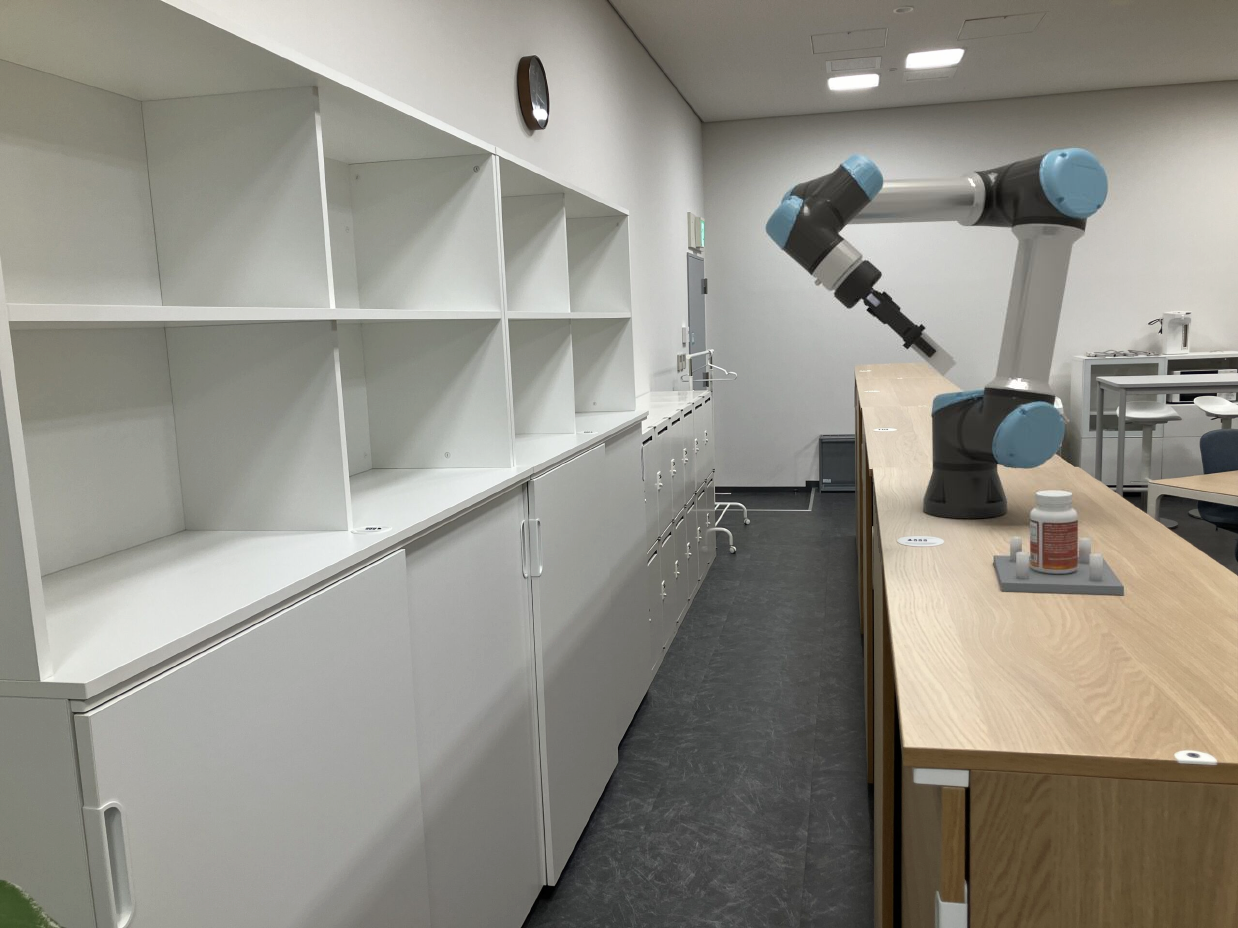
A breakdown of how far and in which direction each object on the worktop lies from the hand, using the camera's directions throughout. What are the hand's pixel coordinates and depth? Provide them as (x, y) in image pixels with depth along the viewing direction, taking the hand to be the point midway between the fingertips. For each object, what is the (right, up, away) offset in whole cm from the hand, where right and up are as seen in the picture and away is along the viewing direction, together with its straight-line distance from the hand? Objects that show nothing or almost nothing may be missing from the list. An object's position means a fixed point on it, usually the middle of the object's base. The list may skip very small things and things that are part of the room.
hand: (948, 367), depth 146 cm
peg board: (+10, -31, -13) cm, 35 cm away
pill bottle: (+10, -30, -13) cm, 35 cm away
